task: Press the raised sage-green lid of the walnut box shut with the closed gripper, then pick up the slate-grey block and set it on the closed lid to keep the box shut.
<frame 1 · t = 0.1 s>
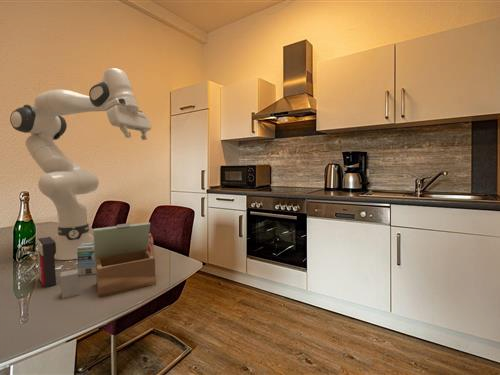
hand: (136, 138, 111), 52 cm above the table, tool tilted 20°, fingers open, 8 cm apart
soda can: (145, 262, 114), on the table
lid: (122, 239, 94), point 15 cm above the table, hinge at 60.0°, touching storage box
storage box: (126, 283, 93), on the table
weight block: (70, 294, 86), on the table
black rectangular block: (48, 282, 96), on the table
light bulb box: (96, 271, 106), on the table
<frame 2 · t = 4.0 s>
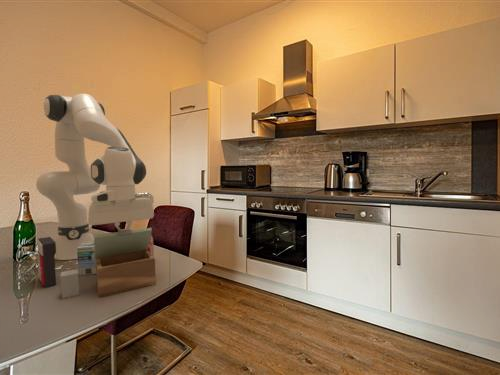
hand: (123, 234, 92), 17 cm above the table, tool pointing down, fingers closed, pressing on lid
lid: (123, 243, 93), point 14 cm above the table, hinge at 46.6°, touching gripper, storage box
everything else where it was.
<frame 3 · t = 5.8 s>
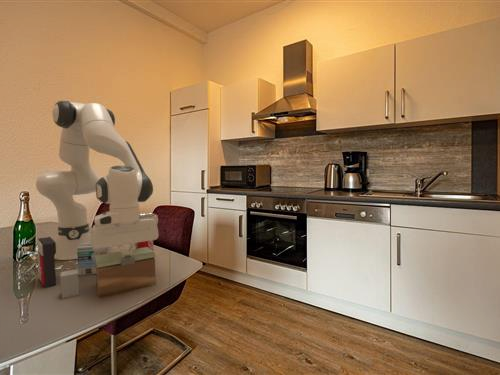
hand: (127, 256, 89), 10 cm above the table, tool pointing down, fingers closed, pressing on lid
lid: (125, 257, 92), point 9 cm above the table, hinge at 2.4°, touching gripper
everything else where it was.
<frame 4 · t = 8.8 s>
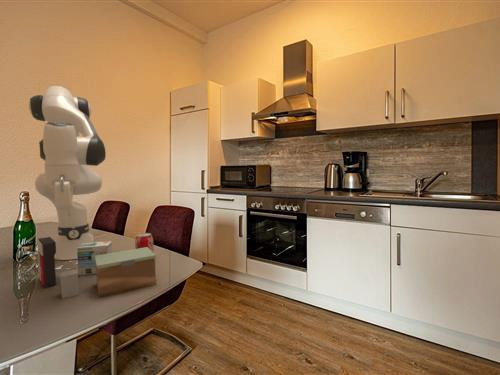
hand: (65, 219, 85), 24 cm above the table, tool pointing down, fingers open, 8 cm apart
lid: (125, 257, 92), point 9 cm above the table, hinge at 1.0°, touching storage box
everything else where it was.
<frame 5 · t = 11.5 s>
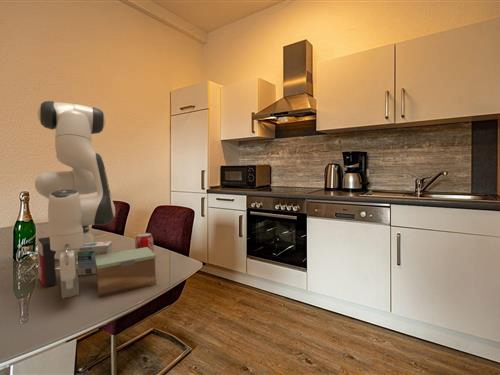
hand: (70, 284, 86), 3 cm above the table, tool pointing down, fingers closed on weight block, 4 cm apart
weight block: (70, 293, 86), on the table, touching gripper
everything else where it was.
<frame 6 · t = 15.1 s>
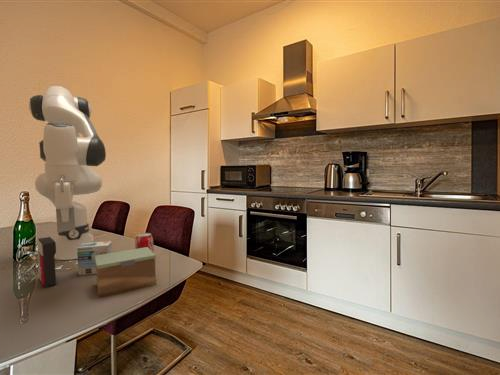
hand: (66, 219, 85), 24 cm above the table, tool pointing down, fingers closed on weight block, 4 cm apart
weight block: (66, 229, 85), point 21 cm above the table, touching gripper
everything else where it was.
when the fingers open (14 cm above the table, at t = 19.0 s): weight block stays where it is, resting on lid.
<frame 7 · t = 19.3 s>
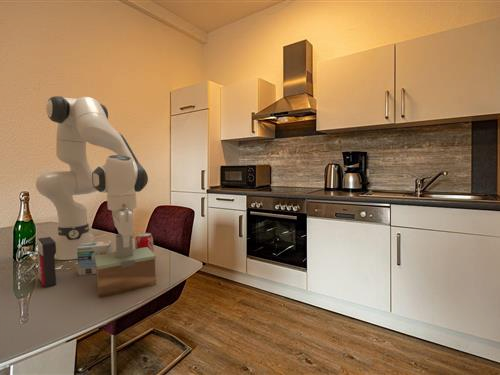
hand: (124, 243, 92), 14 cm above the table, tool pointing down, fingers open, 7 cm apart
lid: (125, 258, 92), point 9 cm above the table, hinge at 0.0°, touching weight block
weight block: (124, 255, 92), point 10 cm above the table, touching lid
everything else where it was.
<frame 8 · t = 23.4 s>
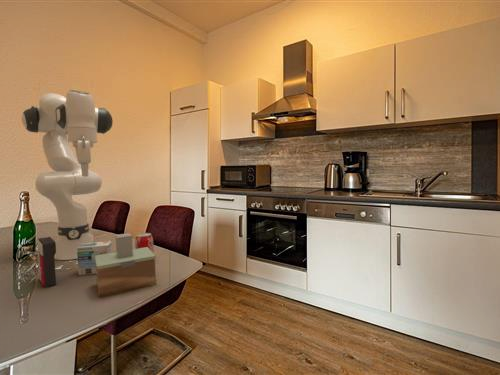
hand: (85, 176, 97), 37 cm above the table, tool pointing down, fingers open, 8 cm apart
nothing on the table moved.
at the end: lid at +0° (first picture: +60°); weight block inside the target area (0.0 cm from its centre), point 10.0 cm above the table; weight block tilted 0° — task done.
